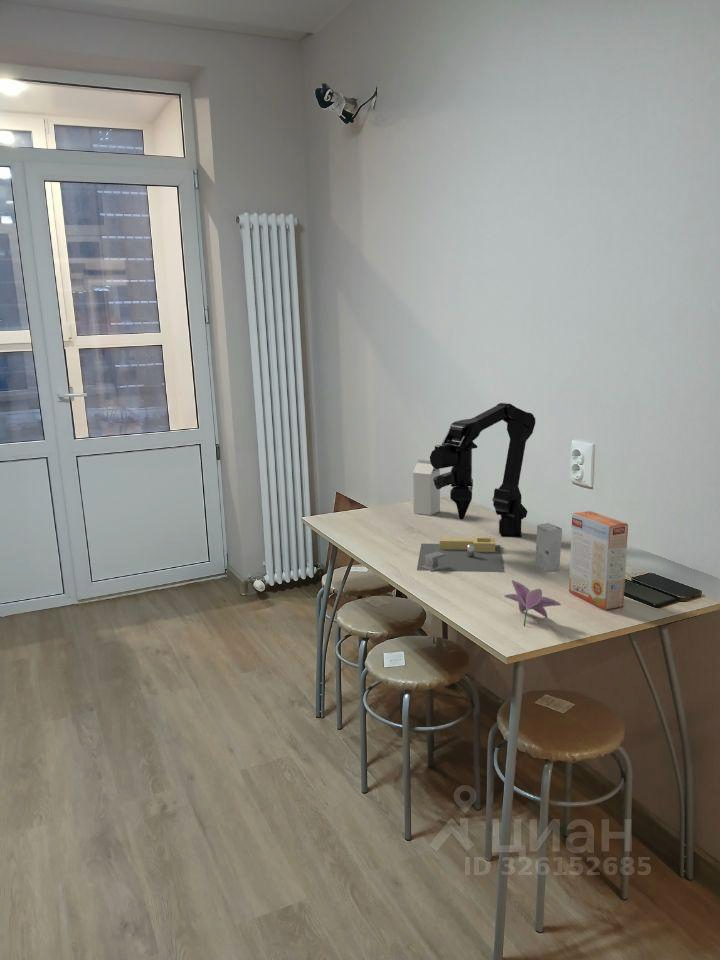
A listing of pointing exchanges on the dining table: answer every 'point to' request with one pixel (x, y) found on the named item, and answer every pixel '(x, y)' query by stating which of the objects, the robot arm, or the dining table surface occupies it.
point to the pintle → (470, 551)
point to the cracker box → (598, 559)
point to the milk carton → (425, 489)
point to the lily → (530, 599)
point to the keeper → (432, 561)
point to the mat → (463, 559)
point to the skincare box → (548, 547)
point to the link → (461, 543)
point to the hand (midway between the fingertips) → (461, 515)
